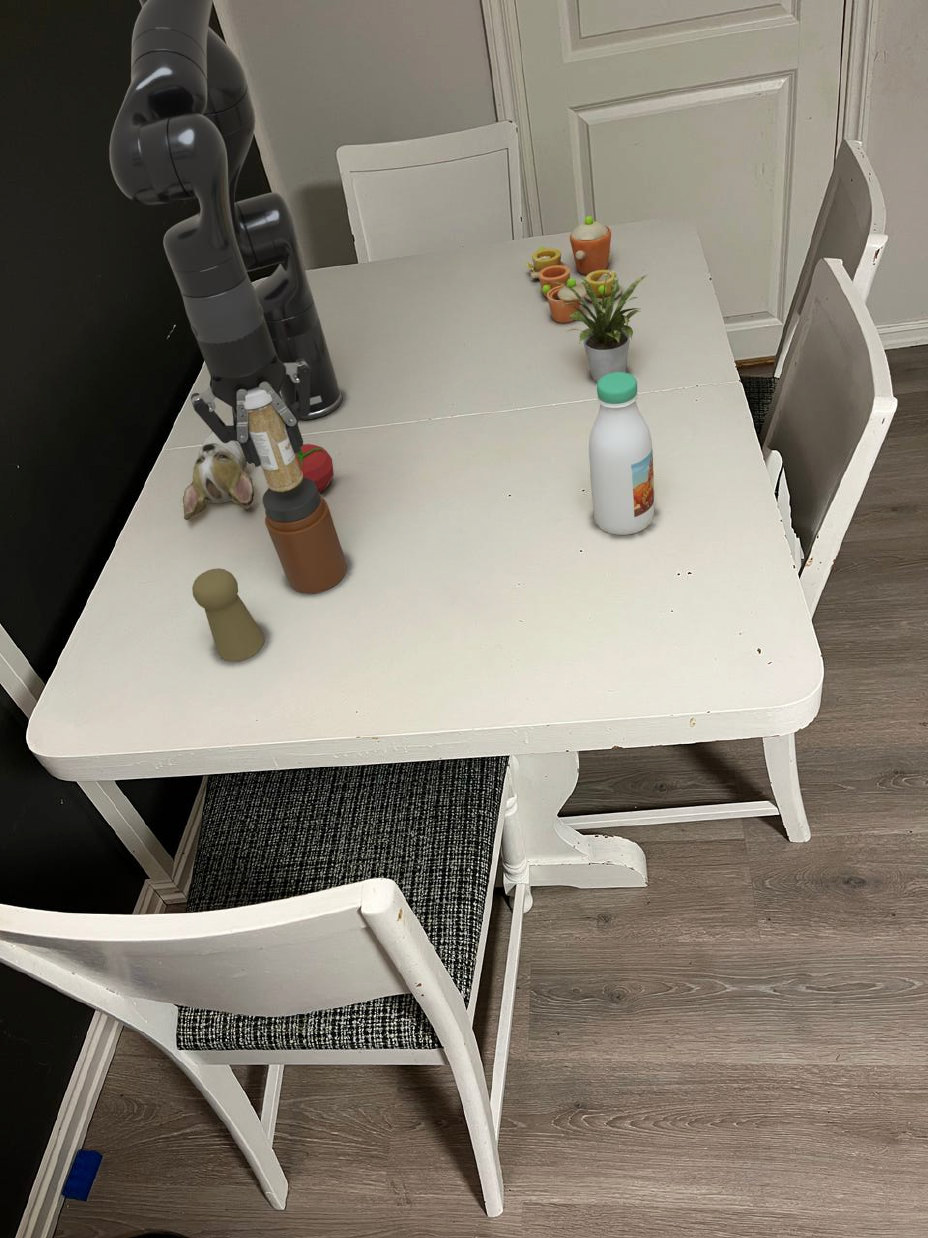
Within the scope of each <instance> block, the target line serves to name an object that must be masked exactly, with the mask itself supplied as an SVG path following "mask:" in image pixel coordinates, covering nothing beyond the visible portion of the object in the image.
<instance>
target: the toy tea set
mask: <svg viewBox="0 0 928 1238" xmlns="http://www.w3.org/2000/svg"><path fill="white" fill-rule="evenodd" d="M611 242H612V231H611V228H610V227H608V226H607V225H605V224H603V223H602V222H599V221H597V220H594V218H593V217H592V216H591V215H588V216H586V217H585V218H584V222H581V223H580V224H578V225H577V226H576V227H575V228H574V229H573V230H572V232H571V233H570V234H569V243H570V247H571V250H572V254H573V259H574V264H575V267H576V270H577V272H578V273H579V274H582V275H586V276H585V277H584V279H585V280H586V281H587V282H588V283H589V284H590V286H591V289H592V290H593V291H594V293H595V295H596V297H597V299H598V302H599V303H601V301H602V299H603V290H604V283H605V280H606V277H607V275H608V274H609V275H608V278H607V281H606V286H605V296H604V298H606V297H610V295H611V293H610V292H611V286H612V283H613V277H614V274H615V276H616V287H617V286H618V287H617V288H616V295H615V299H617V298H618V297H619V296H620V295H621V293H622V286H621V285H620V284H619V281H620V280H619V275H618V273H617V272H616V271H615V270H610V269H608V267H609V263H610V254H611V253H610V251H611ZM531 260H532V263H533V265H532V264H531V263H529V262H528V261H526V265H527V268H529V269H530V270H529V272H530V278H531V279H539V284H540V287H541V291H542V294H543V296H544V297H545V298H547V302H548V305H549V309H550V312H551V317H552V319H553V321H554V322H556V323H561V324H564V323H565V324H566V323H571V322H573V321H575V320H574V319H571V318H569V316H570V315H571V314H572V313H573V312H576V311H578V310H577V309H575V308H574V307H576V308H578V309H579V310H580V311H581V305H579V304H577V303H581V301H580V300H579V299H578V298H577V296H576V295H575V294H574V293H573V292H572V291H571V290H570V289H569V288H567V287H565V286H563V285H561V284H558V283H553V282H559V283H563V284H566V285H569V286H571V287H572V288H573V289H574V290H575V291H576V292H577V293H578V294H579V296H580V297H581V298H582V299H583V298H584V299H585V300H587V301H589V302H592V301H591V299H590V297H589V295H588V294H587V292H586V289H585V287H584V286H583V284H582V283H577V280H576V279H575V278H574V277H571V269H570V268H569V266H567V265H566V263H565V262H563V261H561V260H562V252H561V250H559V249H558V248H554V247H549V248H548V247H547V248H546V247H544V246H540V247H539V248H538V249H537V250H536V251H534V252H533V253H532V255H531ZM609 272H610V273H609ZM609 294H610V295H609ZM608 295H609V296H608ZM569 302H575V303H569ZM565 303H569V304H565ZM563 304H565V305H563ZM562 305H563V306H562ZM564 306H567V307H564ZM571 306H574V307H571ZM562 307H563V308H562Z"/></svg>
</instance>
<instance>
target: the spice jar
mask: <svg viewBox="0 0 928 1238" xmlns="http://www.w3.org/2000/svg"><path fill="white" fill-rule="evenodd" d="M247 393H248V395H246V396H245V399H246V402H245V403H244V407H245V409H247V410H248V434H249V436H250V438H251V441H252V443H253V446H254V449H255V451H256V454H257V457H258V459H259V462H260V465H261V466H260V467H261V469H262V472H263V475H264V477H265V480H266V485H267V487H268V489H269V488H270V489H271V490H273V491H277V492H284V491H288V490H291V489H293V488H295V487H296V486H298V485H299V484H300V483H301V482H302V480H303V473H302V471H301V470H300V467H299V464H298V461H297V458H296V456H295V452H294V449H293V446H292V444H291V441H290V438H289V435H288V432H287V429H286V426H285V422H284V420H283V418H282V417H281V416H280V414H278V413H277V411H276V410H275V409H274V407H273V406H272V403H270V402H271V401H272V399H273V398H274V397H271V395H270V394H267V393H266V391H265V390H260V389H259V387H256V388H253V389H250V390H248V391H247ZM242 408H243V407H242Z"/></svg>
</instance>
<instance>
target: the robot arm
mask: <svg viewBox="0 0 928 1238" xmlns="http://www.w3.org/2000/svg"><path fill="white" fill-rule="evenodd" d="M138 1H139V3H140V5H141V10H140V11H139V13H138V15H137V18H136V20H135V22H134V27H133V30H132V35H131V36H132V37H131V67H130V71H131V72H130V84H129V86H128V89H127V91H126V93H125V95H124V99H123V101H122V103H121V107H120V108H119V111H118V114H117V116H116V119H115V121H114V125H113V127H112V131H111V135H110V142H109V164H110V170H111V173H112V176H113V179H114V181H115V183H116V185H117V186H118V188H119V190H120V191H121V192H122V193H123V195H124V196H125V197H126V198H127V199H129V200H130V201H131V202H133V203H135V204H137V205H139V206H144V207H145V206H146V207H149V206H150V207H152V206H159V205H165V204H169V203H175V202H182V201H188V200H192V199H198V203H199V207H200V211H199V212H197V213H196V214H194V215H192V216H190V217H188V218H186V219H184V220H181V221H179V222H178V223H175V224H174V225H173V226H171V227H170V228H169V229H168V230H167V231H166V232H165V234H164V235H163V240H162V241H163V242H162V244H163V250H164V252H165V255H166V258H167V262H168V263H169V266H170V269H171V270H172V273H173V276H174V278H175V281H176V283H177V285H178V286H177V287H178V289H179V291H180V295H181V297H182V301H183V306H184V311H185V313H186V316H187V319H188V322H189V325H190V329H191V332H192V334H193V335H194V337H195V339H196V343H197V345H198V348H199V350H200V352H201V355H202V358H203V360H204V363H205V365H206V368H207V371H208V373H209V377H210V381H209V387H208V388H207V389H205V390H204V391H202V392H201V393H198V392H194V393H192V394H191V395H190V401H191V404H192V407H193V410H194V412H195V413H196V414H197V415H198V417H200V419H201V420H202V421H203V422H204V423H205V424H206V425H207V427H208V428H209V429H210V430H211V432H212V431H213V432H214V434H215V435H216V436H217V437H218V438H219V439H220V441H221V442H223V443H229V442H230V441H236V442H237V443H238V444H239V445H240V446H241V449H242V451H243V454H244V456H245V459H246V462H247V464H248V465H252V464H253V466H254V467H255V468H258V467H261V465H260V462H259V459H258V457H257V454H256V451H255V449H254V446H253V443H252V441H251V438H250V436H249V434H248V410H247V409H245V407H244V403H245V402H246V399H245V396H246V395H248V393H247V391H248V390H250V389H253V388H256V387H259V389H260V390H265V391H266V393H267V394H270V395H271V397H274V398H273V399H272V401H271V402H270V403H272V406H273V407H274V409H275V410H276V411H277V413H278V414H280V416H281V417H282V418H283V420H284V422H285V426H286V429H287V432H288V435H289V438H290V441H291V444H292V446H293V449H294V452H295V453H298V452H301V451H300V448H299V447H301V446H303V444H304V439H303V436H302V434H301V433H302V432H301V430H300V428H299V424H298V423H299V420H300V421H301V420H303V421H305V420H306V421H307V420H314V419H318V418H322V417H324V416H326V415H328V414H330V413H333V412H334V411H336V409H337V408H338V407H339V406H340V405H341V404H342V402H343V395H342V392H341V389H340V387H339V383H338V380H337V376H336V372H335V369H334V365H333V361H332V359H331V355H330V351H329V348H328V344H327V341H326V338H325V333H324V331H323V327H322V323H321V320H320V316H319V314H318V309H317V307H316V303H315V299H314V295H313V292H312V290H311V286H310V283H309V280H308V275H307V272H306V269H305V265H304V261H303V257H302V253H301V248H300V244H299V239H298V234H297V231H296V230H297V229H296V226H295V222H294V219H293V216H292V212H291V210H290V209H291V208H290V207H289V205H288V203H287V201H286V200H285V198H284V197H283V195H281V193H279V192H275V191H274V192H268V193H267V192H266V193H264V194H260V195H257V196H253V197H249V198H246V199H242V200H238V201H236V199H235V198H236V189H237V183H238V179H239V177H240V174H241V170H242V168H243V166H244V163H245V161H246V158H247V156H248V153H249V151H250V147H251V145H252V142H253V138H254V135H255V130H256V112H255V108H254V104H253V101H252V96H251V91H250V88H249V84H248V81H247V76H246V74H245V70H244V68H243V66H242V63H241V62H240V60H239V58H238V56H236V54H235V53H234V52H233V51H232V49H231V48H230V47H229V46H228V45H227V43H226V42H225V41H224V40H223V39H222V38H221V37H220V36H219V35H218V34H217V33H216V32H215V31H214V30H213V29H212V28H211V27H210V26H209V24H210V17H211V12H212V8H213V3H214V0H138ZM235 201H236V202H235ZM277 264H278V266H277V267H276V268H275V270H274V271H273V272H272V273H271V274H270V275H269V276H268V277H267V278H266V279H265V280H263V281H262V282H261V283H260V284H258V285H257V286H256V287H255V286H254V285H253V283H252V281H251V279H250V277H249V274H248V272H253V271H256V270H260V269H264V268H267V267H270V266H274V265H277ZM215 399H218V400H220V401H221V402H222V403H225V404H226V405H228V406H229V407H231V413H232V424H233V425H227V424H226V423H225V422H224V421H223V420H222V418H221V417H220V416H219V414H217V412H216V411H215V410H216V404H215ZM242 407H243V408H242Z"/></svg>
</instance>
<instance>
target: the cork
mask: <svg viewBox="0 0 928 1238" xmlns="http://www.w3.org/2000/svg"><path fill="white" fill-rule="evenodd" d="M238 584H239V583H238V581H237V579H236V578H235V576H234V575H233V573H232V572H230V571H228V570H226V569H225V568H221V567H219V568H211V569H208V570H206V571H204V572H202V573H200V574H199V575H198V576H197V577H196V578H195V579H194V581H193V584H192V588H191V589H192V590H191V591H192V596H193V598H194V600H195V602H196V604H198V606H199V607H201V608H202V609H204V612H205V616H206V619H207V623H208V625H209V629H210V633H211V636H212V640H213V642H214V646H215V651H216V653H217V655H218V657H219V658H220V659H221V660H223V661H226V662H230V663H234V662H235V663H237V662H242V661H246V660H247V659H250V658H251V657H253V656H255V655H256V654H257V653H258V652H259V651H260V650H261V649H262V647H263V646H264V643H265V639H266V638H265V634H264V632H263V630H262V629H261V628H260V626H259V624H258V623H257V621H256V620H255V618H254V617H253V616H252V614H251V613H250V611H249V609H248V608H247V606H246V604H245V603H244V602H243V600H242V599H241V597H240V596H239V594H238V593H239V585H238Z"/></svg>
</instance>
